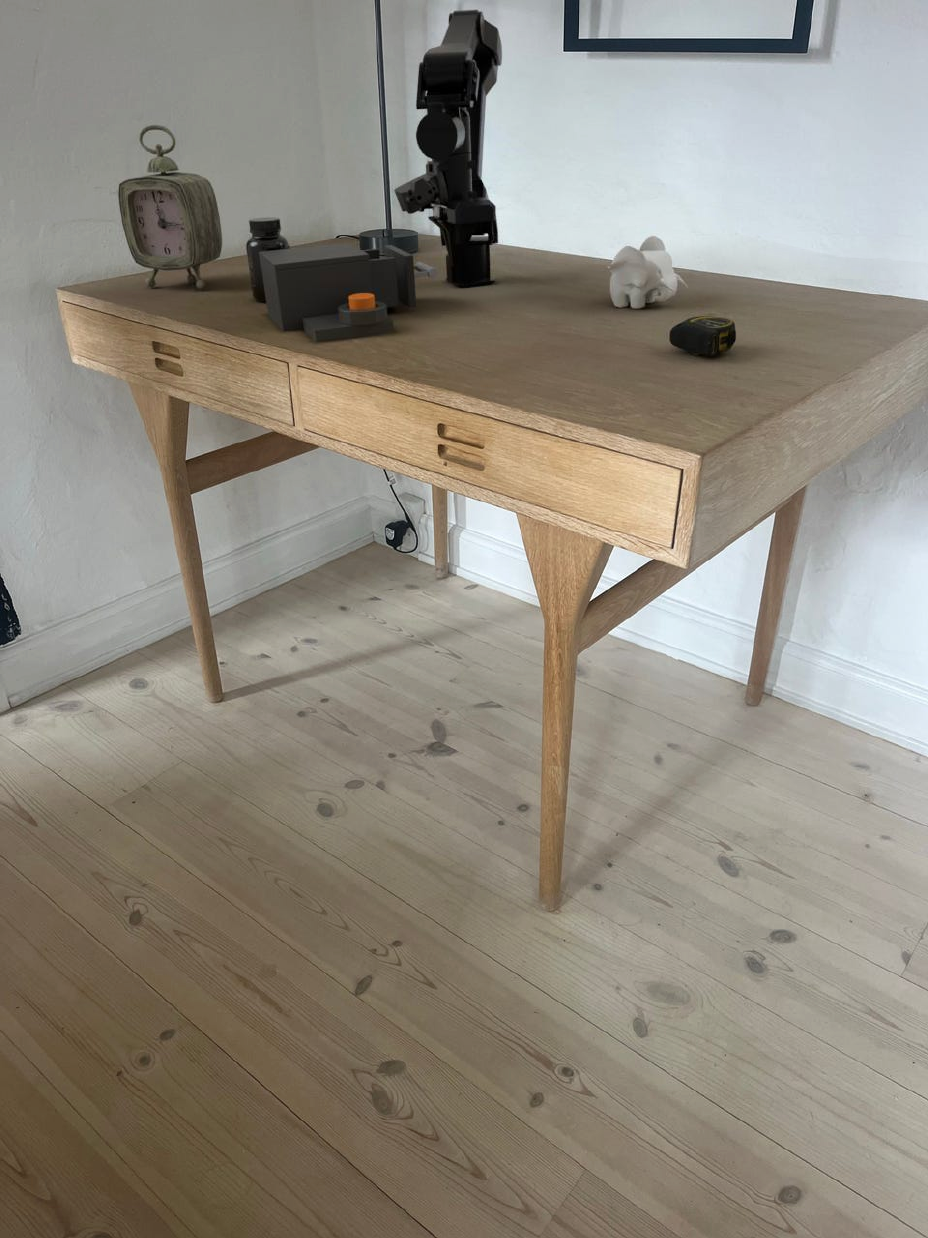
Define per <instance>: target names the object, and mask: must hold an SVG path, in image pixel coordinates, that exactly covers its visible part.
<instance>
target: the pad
mask: <svg viewBox="0 0 928 1238" xmlns="http://www.w3.org/2000/svg"><path fill="white" fill-rule="evenodd" d="M338 312H339V313H338V314H330V315H323V316H315V317H307V318H302V321H303V329H302V330H303V331H304V332H305V333H306V334H307V335H308V336H309V337H310V338H311V339H312V340H313V341H315V343H324V342H331V341H338V340H344V339H345V340H346V339H352V338H360V337H366V336H374V335H375V336H376V335H380V334H389V333H394V320H393V319H392V318H391V317H389V316H388V308H387V305H386V304H385V303H383V302H377V301H375V308H372V309H365V310H352V309H349V303H347V304H343V305H341V306H340V307H339V308H338Z"/></svg>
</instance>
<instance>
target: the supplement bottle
mask: <svg viewBox="0 0 928 1238" xmlns="http://www.w3.org/2000/svg"><path fill="white" fill-rule="evenodd" d="M248 224H249V233H250V234H251V237H250V238H249V239H247V241H246V244H245V249H246V257H247V265H248V271H249V278H250V285H251V292H252V293H251V294H252V298H253V299H254V300H255V301H257V302H261V303H266V298H265V291H264V284H263V277H262V270H261V264H260V257H259V252H263V251H273V250H282V249H291V248H290V247H291V246H290V242H289V240H288V239H287V238H286V236H283V235H282V234H281V232H282V226H281V218H279V217H273V216H272V217H268V216H267V217H266V216H265V217H256V218H255V217H254V218H250V219H249V220H248Z"/></svg>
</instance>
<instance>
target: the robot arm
mask: <svg viewBox="0 0 928 1238" xmlns="http://www.w3.org/2000/svg"><path fill="white" fill-rule="evenodd" d="M502 62H503V49H502V40H501V36H500V32H499V29H498V27H497V26H495V25H494V24H492V23H491V22H489V21H488V20H486V19H485V16H484V12H483V11H482V10H481V11H479V9H464V10H454V11H453V12H449V14H448V26H447V29H446V31H445V33H444V36H443V38H442V41H441V43H440V45H439V46H436V47H435V46H434V47H431V48H429V49H428V50H427V51H426V52H425V53H424V55H423V58H422V61H421V62H419V65H418V72H417V74H418V75H417V86H416V87H417V88H416V101H415V109H416V110H426V114H425V115H424V116H423V117H422V118H421V119H420V120H419V122H418V124H417V127H416V132H415V139H416V144H417V146H418V149H419V150H420V152H421V153H422V154H423V155H424V156H425V157H427V158H429V159H431V160H427V163H426V164H425V173H423V174H421V175H419V176H417V177H415V178H413V179H411V180H409V181H407V182H405V183H403V184H401V185H399V186H397V187H396V188H394V190H393V191H394V194H395V196H396V198H397V201H398V203H399V206H400V208H401V211H402V212H406V213H407V214H409V215H410V214H411V215H412V214H415V213H417V212H419V213H424V212H425V210H432V215H431V216H428V220H429V221H431V222H432V223H433V224H434V225H435V226H436V227H438V228H439V234H440V235H439V236H440V243H441V244H440V245H441V247H445V249H446V254H445V269H446V270H445V271H446V278H445V281H446V282H448V283H450V284H452V285H454V286H456V287H457V288H463V287H472V286H480V285H487V284H489V285H490V284H494V283H495V278H492V275H491V246H493V245H495V244H499V228H498V221H497V212H496V211H497V207H496V206H497V205H495V204H494V202H492V201H491V199H490V198H489V194H488V189H487V188H486V186H485V184H484V182H483V178H482V177H483V160H484V143H485V141H484V140H485V125H486V107H487V106H486V105H487V96H488V95H489V93H490V92H491V91H492V89H493V88H494V86H495V85H496V83H497V81H498V71H499V70H498V69H499V67H500V66H502V64H503V63H502Z"/></svg>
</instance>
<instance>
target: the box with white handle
mask: <svg viewBox="0 0 928 1238" xmlns="http://www.w3.org/2000/svg"><path fill="white" fill-rule="evenodd" d="M361 250H362V249H361ZM362 251H364V252H366V253H367V254H369V258H370V270H371V281H372V292H373V294H374V296H375V301H377V302H383V303H385V304H386V305H387V309H388V308H394V307H396V308H397V307H399V305H400V304H402V305H403V306H405V307H407V308H408V309H413V308H417V298H416V297H417V296H416V294H417V293H416V281H415V280H416V279H415V278H421V277H429V278H430V279H435V278H437V276H438V273H439V272H438V269H436V268H435V267H432V266H430V265H428V264H426V263H424V262H422V261H417V262H416V263H415V264H414V255H413V254H411V253H410V252H407V251H405V250H403V249H401V248H399V247H396V246H395V245H393V244H388V245H387V244H386V245H384V257H382V258H380V249H379V248H371V249H363V250H362ZM415 271H416V272H415ZM399 303H400V304H399Z"/></svg>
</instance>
